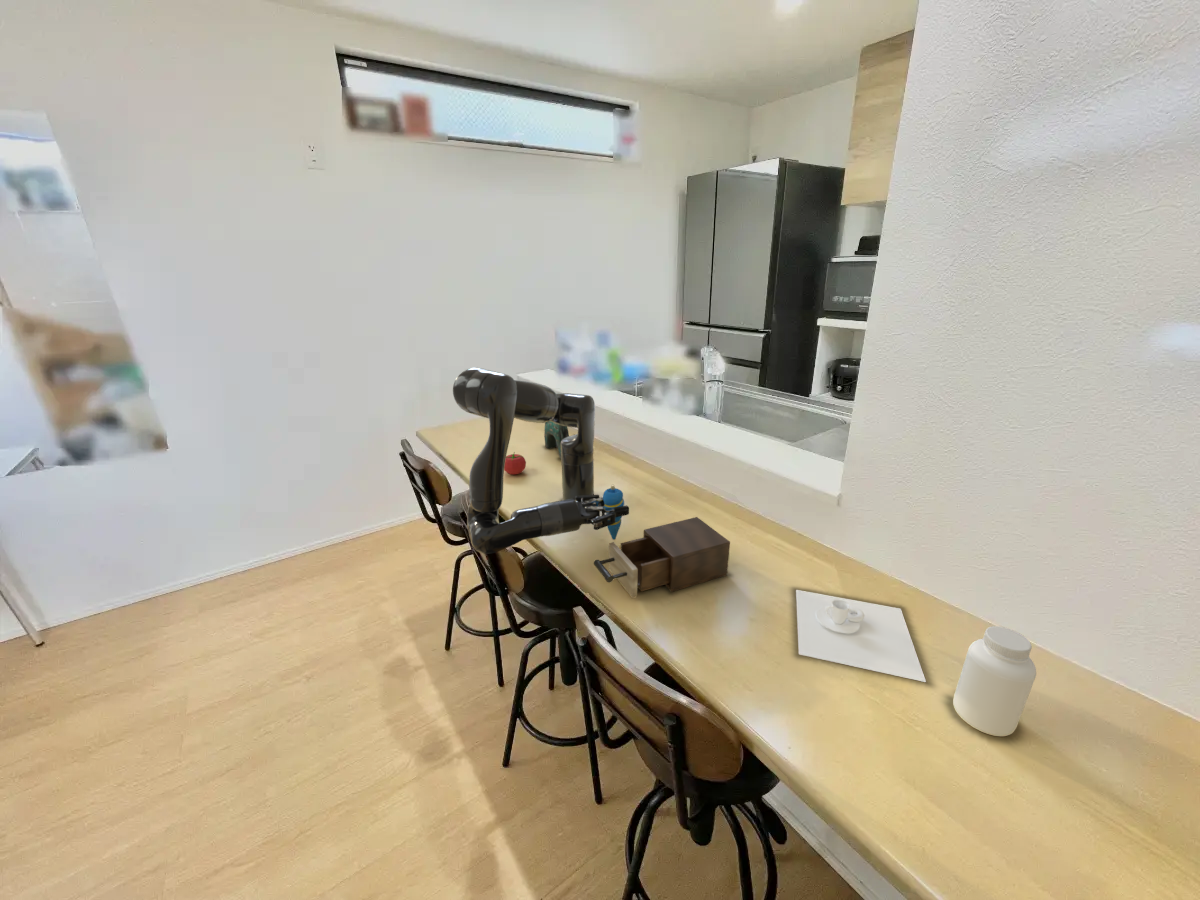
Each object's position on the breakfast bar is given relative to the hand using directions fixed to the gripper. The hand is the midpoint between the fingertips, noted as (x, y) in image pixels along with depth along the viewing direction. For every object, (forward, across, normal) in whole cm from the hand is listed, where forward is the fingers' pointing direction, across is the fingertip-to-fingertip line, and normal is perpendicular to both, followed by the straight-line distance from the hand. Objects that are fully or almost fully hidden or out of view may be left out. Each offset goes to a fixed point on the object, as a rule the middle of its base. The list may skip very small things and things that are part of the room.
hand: (623, 505), depth 120 cm
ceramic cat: (+5, +70, +12) cm, 71 cm away
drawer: (-3, -15, +10) cm, 19 cm away
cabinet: (+9, -15, +11) cm, 21 cm away
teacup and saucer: (+28, -45, +11) cm, 54 cm away
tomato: (-15, +56, +12) cm, 59 cm away
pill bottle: (+31, -67, +11) cm, 75 cm away
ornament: (-3, 0, +9) cm, 10 cm away
